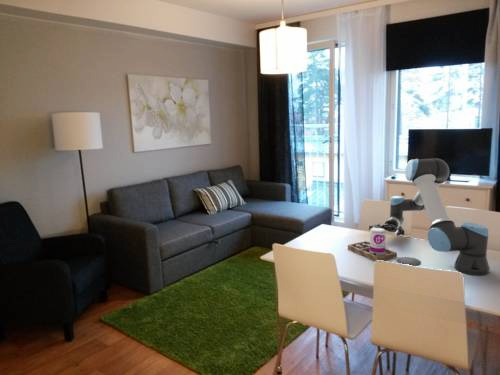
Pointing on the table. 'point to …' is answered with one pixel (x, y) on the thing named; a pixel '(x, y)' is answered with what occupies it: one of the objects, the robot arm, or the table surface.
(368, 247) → the parts tray
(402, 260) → the coaster
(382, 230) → the supplement can
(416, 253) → the table surface
